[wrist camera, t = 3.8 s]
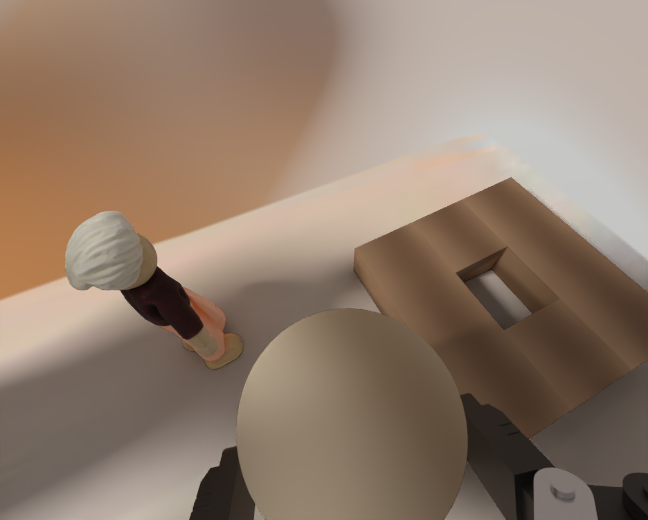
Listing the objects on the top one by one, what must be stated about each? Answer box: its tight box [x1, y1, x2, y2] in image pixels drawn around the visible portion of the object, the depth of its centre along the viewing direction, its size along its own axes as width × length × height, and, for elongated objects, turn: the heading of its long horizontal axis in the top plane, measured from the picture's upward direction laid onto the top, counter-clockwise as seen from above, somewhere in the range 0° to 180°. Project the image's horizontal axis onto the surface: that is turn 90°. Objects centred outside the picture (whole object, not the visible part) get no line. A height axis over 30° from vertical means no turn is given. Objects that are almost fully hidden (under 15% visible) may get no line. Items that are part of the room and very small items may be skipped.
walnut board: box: [354, 178, 648, 439], centre depth 22 cm, size 14×14×3 cm
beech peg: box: [236, 308, 468, 520], centre depth 13 cm, size 6×6×13 cm
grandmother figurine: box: [65, 211, 243, 369], centre depth 17 cm, size 8×4×13 cm, turn 63°
